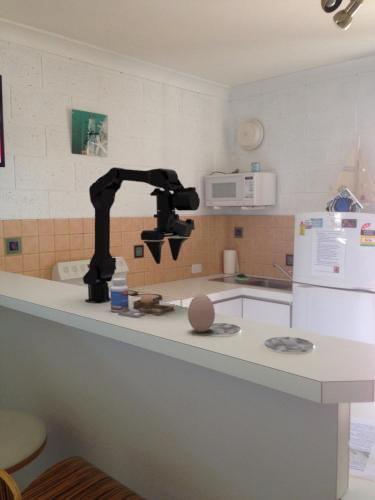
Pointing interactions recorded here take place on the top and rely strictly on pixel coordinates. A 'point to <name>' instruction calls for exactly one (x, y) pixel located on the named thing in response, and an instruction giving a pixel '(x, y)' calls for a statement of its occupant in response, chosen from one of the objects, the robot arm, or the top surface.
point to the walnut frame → (145, 304)
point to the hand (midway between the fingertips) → (166, 262)
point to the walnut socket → (153, 312)
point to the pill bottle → (119, 295)
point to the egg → (201, 313)
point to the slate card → (132, 314)
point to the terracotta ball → (146, 299)
